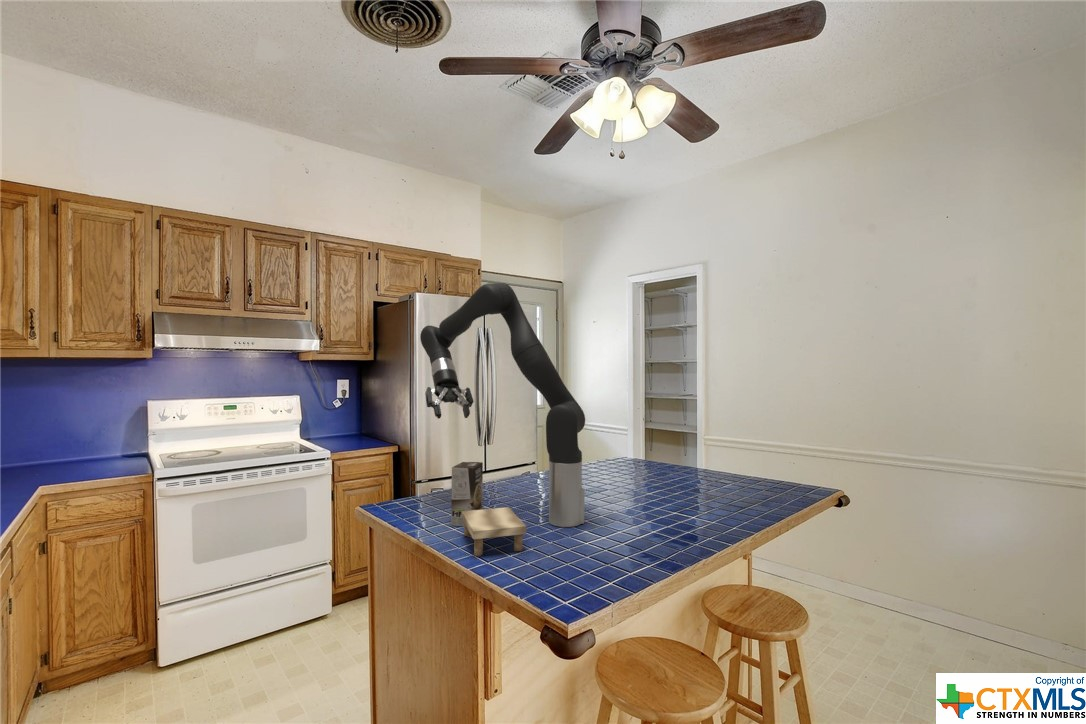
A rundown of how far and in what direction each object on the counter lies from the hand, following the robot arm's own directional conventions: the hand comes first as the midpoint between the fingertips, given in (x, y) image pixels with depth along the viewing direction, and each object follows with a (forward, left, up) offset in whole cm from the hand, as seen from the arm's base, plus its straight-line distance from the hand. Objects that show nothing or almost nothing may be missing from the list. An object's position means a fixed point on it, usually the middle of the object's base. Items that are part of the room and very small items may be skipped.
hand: (453, 416), depth 151 cm
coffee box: (-2, +11, -29) cm, 31 cm away
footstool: (-5, +30, -28) cm, 41 cm away
